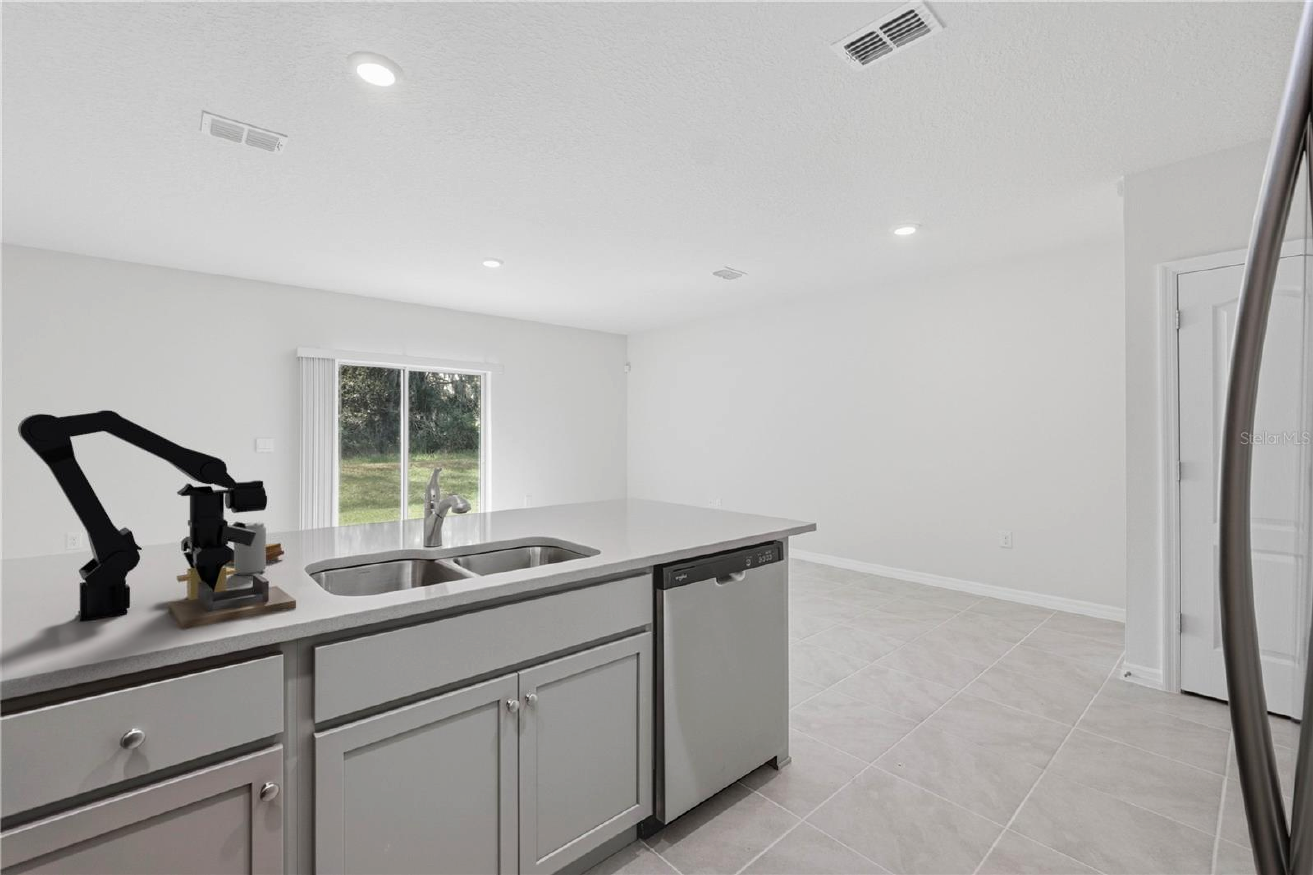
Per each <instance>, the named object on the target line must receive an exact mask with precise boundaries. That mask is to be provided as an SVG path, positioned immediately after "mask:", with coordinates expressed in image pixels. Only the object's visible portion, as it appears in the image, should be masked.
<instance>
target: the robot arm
mask: <svg viewBox="0 0 1313 875" xmlns="http://www.w3.org/2000/svg"><path fill="white" fill-rule="evenodd" d="M17 431H18V435H19V437H20V438H21V439H22V441H24V442H25V444H26V445H27V446H28V447H30V449H31V450H32V451H33V452H34V453H35V454H36V456H38V457H39V458H40V459H41V460H42V462H43V463H45V465H46V466H47V467H48V468H49V470H50V471H51V473H52V475H53V477H54V479H55V480H56V482H57V484H58V485H59V488H60V489H61V490H62V492H63V493H64V495H65V497H66V499H67V500H68V502H69V504H70V506H71V507H72V509H73V510H74V512H75V514H76V515H77V517H78V519H79V521H80V522H81V524H82V526H83V527H84V529H85V530H86V534H87V538H88V541H89V546H90V549H91V553H92V557H93V558H92V559H90V560H88V562H86V563H85V564H84V565H83V566H82V567H80V568H79V569H78V573H79V575H80V576H81V578H82V580H83V581H82V582H79V610H78V612H77V613H78V619H79V622H81V621H82V622H83V621H89V620H96V619H102V618H107V617H114V616H120V615H126V614H128V613H129V612H128V610H129V609H130V608H131V587H130V585H129V584H127V580H126V578H127V576H128V573H130V572H131V571H133V570H134V569H135V568H136V567H138V564H139V562H140V560H141V555H140V552H139V551H142V550H143V548H142V547H141V546H139V545H138V543H136V540H135V537H134V534H133V531H132V530H130V529H129V528H127V527H126V526H125V527H123V528H121V529H119V528H117V527H116V526H115V525H114V523H113V522H112V520H111V518H110V517H109V515H108V513H107V511H106V510H105V508H104V506H103V504H102V503H101V501H100V498H99V497H98V496H97V493H96V492H95V490H94V489H93V487H92V485H91V483H90V481H89V480H88V478H87V477H86V474H85V473H84V471H83V469H82V468H81V466H80V465H79V462H78V461H77V459H76V458H77V457H76V455H75V452H74V446H73V443H72V439H71V438H72V437H77V436H83V435H84V436H85V435H89V434H96V433H101V432H104V433H107V434H109V435H111V436H113V437H116V438H117V439H118V440H122V441H124V442H126V443H128V444H130V445H132V446H134V447H137V448H139V449H141V450H142V451H146V452H147V453H149V454H151V455H154V456H155V457H157V458H160V459H161V460H164V461H166V462H167V463H169V464H170V465H172V466H173V467H175V469H176V470H178V471H180V472H181V473H183V474H184V475H185V476H187V477H188V478H190V479H191V480H193V481H195V482H197V483H201V484H205V485H204V486H202V485H201V486H194V485H193V484H191V483H185V485H184V486H183V488H181V489H179V490H178V491H177V492H176V494H177V495H178V496H181V497H189V519H187V526H188V527H189V536H185V538H183V539H182V540H181V542H180V550H181V551H182V552H183V556H184V558H185V559H186V562H187V563H188V565H189V567H190V568H195V569H196V571H197V573H198V575H199V577H200V579H201V581H202V582H203V581H204V582H205V583H206V584H207V585H208V586H209V587H210V588H211V589H212V590H213V592H214V590H215V587H216V583H217V580H218V577H219V574H220V571H221V568H222V567H223V566H225V565H226V564H227V563H229V562H230V561H231V560H234V548H232V547H230V546H229V543H233V544H234V543H239V544H244V545H245V546H251V545H252V542H253V540H254V538H255V535H256V533H257V532H255V531H253V530H250V529H246V525H245V524H244V523H245V522H240V521H235V522H234V523H233V524H231V525H230V524H228V520H227V519H225V516H224V515H225V507H226V509H227V510H231V512H232V513H233V514H239V513H249V512H250V513H251V512H259V511H260V512H261V511H265V510H266V508H267V505H268V495H267V494H266V493H267V492H266V489H265V486H264V481H263V480H260V479H259V480H250V481H240V482H239V481H237V482H236V480H235V479H234V478H233V477H232V476H231V475H230V474H229V473H228V467H227V464H226V462H225V461H224V460H222V458H218V457H216V456H212V455H209V454H206V453H203V452H200V451H197V450H194V449H191V448H187V447H183V446H181V445H179V444H177V443H175V442H173V441H171V440H169V439H167V438H165V437H164V436H161V435H159V434H158V433H155V432H153V431H151V430H150V429H147V428H145V427H143V426H142V425H139V424H137V423H135V422H133V421H131V420H130V419H127V418H125V417H123V416H121V415H120V414H119V413H118V412H117V411H113V410H106V409H103V410H98V411H96V412H91V413H84V414H83V413H82V414H74V415H66V416H55V415H52V414H47V413H46V414H45V413H36V414H35V413H34V414H32V415H28V416H27V417H24V419H22V420H21V421H20V423H19V424H18V426H17ZM211 485H215V486H217V487H221V488H224V489H213V487H212V486H211Z"/></svg>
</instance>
